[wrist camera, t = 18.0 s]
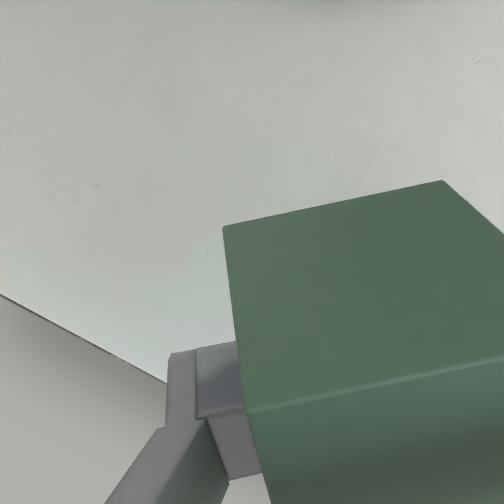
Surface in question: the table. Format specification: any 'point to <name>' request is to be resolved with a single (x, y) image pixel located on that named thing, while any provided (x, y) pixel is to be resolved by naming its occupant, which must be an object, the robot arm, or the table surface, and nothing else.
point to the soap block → (373, 349)
